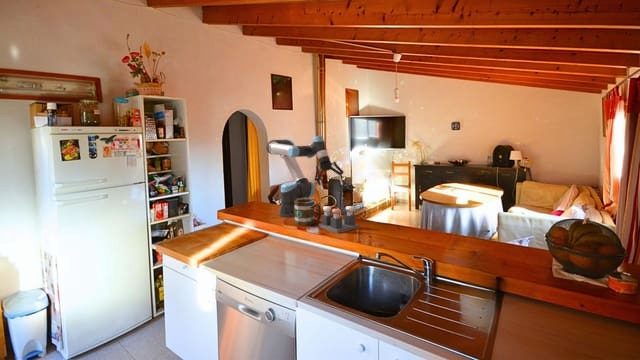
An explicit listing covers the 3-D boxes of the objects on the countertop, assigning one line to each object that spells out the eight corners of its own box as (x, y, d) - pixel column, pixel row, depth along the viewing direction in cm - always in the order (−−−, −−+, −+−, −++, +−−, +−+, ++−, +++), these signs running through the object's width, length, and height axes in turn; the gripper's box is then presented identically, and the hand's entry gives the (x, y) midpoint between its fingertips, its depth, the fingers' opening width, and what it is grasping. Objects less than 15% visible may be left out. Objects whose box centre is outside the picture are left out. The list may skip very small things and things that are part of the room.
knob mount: (318, 226, 220) (318, 214, 219) (339, 222, 231) (339, 210, 230) (336, 233, 206) (336, 220, 205) (358, 227, 217) (358, 215, 216)
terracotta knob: (330, 222, 211) (330, 209, 210) (336, 221, 214) (336, 208, 213) (336, 224, 207) (335, 210, 206) (342, 222, 210) (342, 209, 209)
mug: (290, 223, 228) (289, 201, 226) (302, 219, 239) (302, 198, 237) (314, 228, 217) (313, 204, 215) (326, 223, 228) (326, 201, 225)
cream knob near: (321, 219, 218) (321, 207, 217) (327, 218, 221) (327, 205, 220) (326, 221, 214) (326, 208, 213) (332, 219, 217) (332, 207, 216)
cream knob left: (344, 219, 218) (344, 206, 217) (350, 218, 221) (350, 205, 220) (349, 221, 214) (349, 208, 213) (355, 219, 217) (355, 207, 216)
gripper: (306, 160, 230) (314, 190, 226) (341, 151, 234) (350, 180, 229) (305, 163, 238) (314, 192, 233) (340, 155, 241) (349, 183, 237)
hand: (332, 187), depth 231 cm, fingers open, 13 cm apart
